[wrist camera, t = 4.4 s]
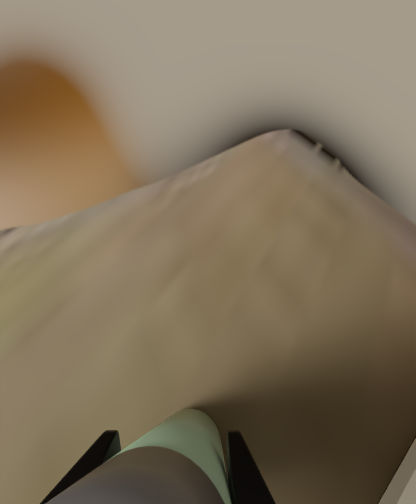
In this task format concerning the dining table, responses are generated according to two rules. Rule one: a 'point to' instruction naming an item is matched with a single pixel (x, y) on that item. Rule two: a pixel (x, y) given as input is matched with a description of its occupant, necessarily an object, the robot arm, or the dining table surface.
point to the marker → (160, 468)
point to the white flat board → (403, 481)
